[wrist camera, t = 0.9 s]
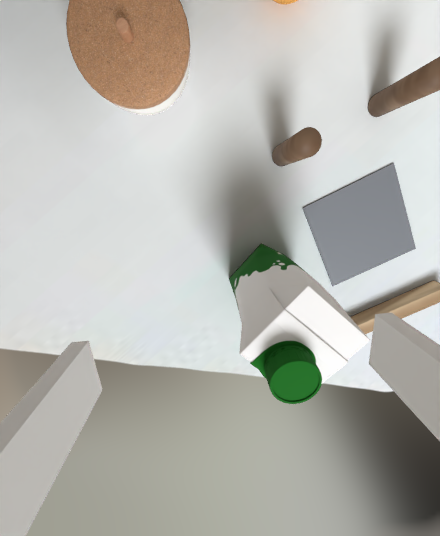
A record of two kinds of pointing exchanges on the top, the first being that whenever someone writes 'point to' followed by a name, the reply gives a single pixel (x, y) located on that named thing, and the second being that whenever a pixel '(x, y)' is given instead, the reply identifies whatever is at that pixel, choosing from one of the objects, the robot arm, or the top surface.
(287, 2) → the ball
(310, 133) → the post
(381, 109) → the post
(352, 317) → the rail
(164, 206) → the top surface
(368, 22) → the top surface
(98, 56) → the lidded jar
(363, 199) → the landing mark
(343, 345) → the milk carton
